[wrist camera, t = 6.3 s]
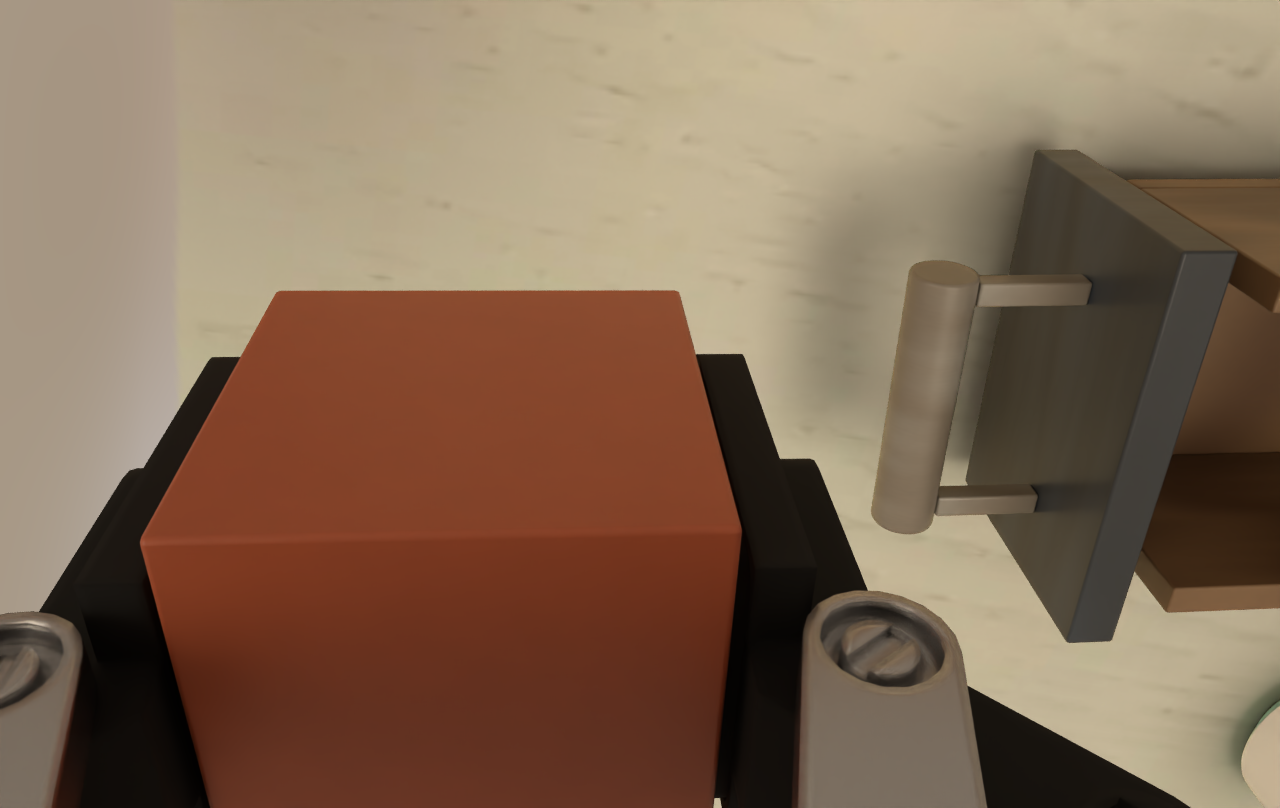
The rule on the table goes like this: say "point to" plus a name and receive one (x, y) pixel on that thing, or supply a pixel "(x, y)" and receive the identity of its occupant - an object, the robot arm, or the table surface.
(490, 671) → the block
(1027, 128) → the table surface
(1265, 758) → the can
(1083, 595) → the drawer
